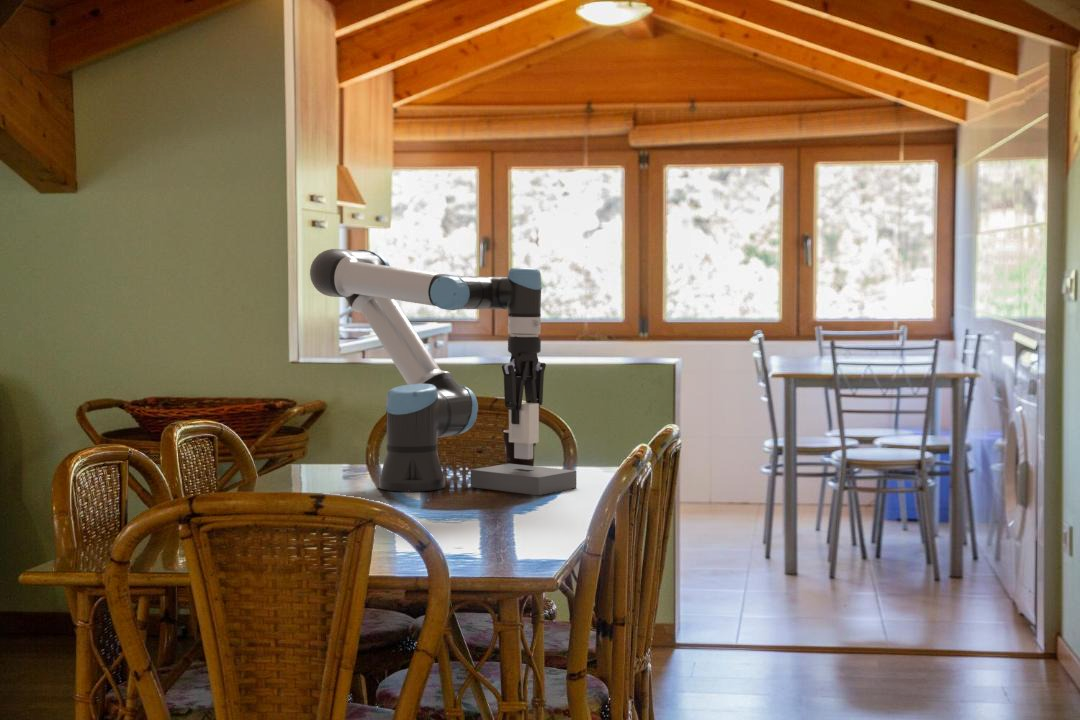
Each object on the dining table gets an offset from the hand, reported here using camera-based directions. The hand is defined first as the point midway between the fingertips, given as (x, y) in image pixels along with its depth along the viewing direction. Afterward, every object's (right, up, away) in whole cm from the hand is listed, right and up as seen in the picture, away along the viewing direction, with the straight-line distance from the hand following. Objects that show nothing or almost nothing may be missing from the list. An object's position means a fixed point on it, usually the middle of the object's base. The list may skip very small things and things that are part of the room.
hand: (523, 437), depth 299 cm
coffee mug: (-2, -10, +27) cm, 29 cm away
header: (0, -12, +1) cm, 12 cm away
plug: (0, -5, 0) cm, 5 cm away
